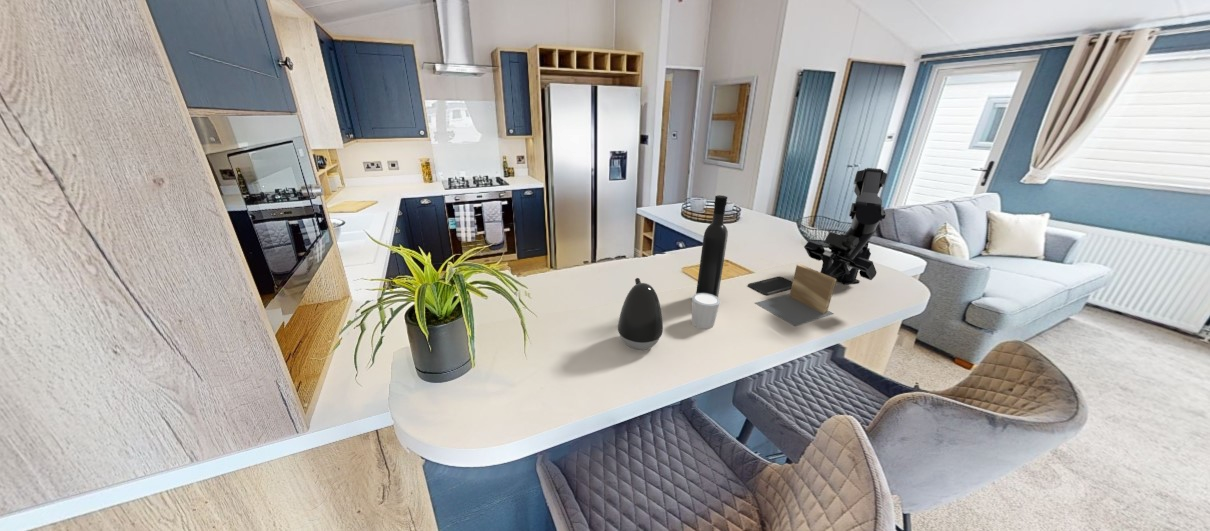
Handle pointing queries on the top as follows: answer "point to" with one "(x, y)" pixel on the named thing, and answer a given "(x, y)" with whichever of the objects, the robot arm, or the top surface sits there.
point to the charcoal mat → (791, 310)
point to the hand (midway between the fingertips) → (819, 282)
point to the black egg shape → (641, 317)
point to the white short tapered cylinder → (704, 310)
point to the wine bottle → (713, 251)
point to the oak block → (812, 288)
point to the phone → (771, 285)
